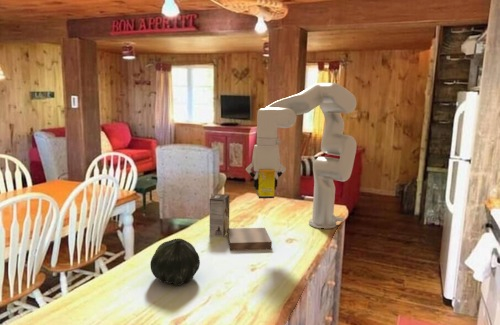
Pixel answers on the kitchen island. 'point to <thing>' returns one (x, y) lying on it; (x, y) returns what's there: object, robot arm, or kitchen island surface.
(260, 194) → the supplement box
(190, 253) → the squash
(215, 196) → the coffee box
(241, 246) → the base
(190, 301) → the kitchen island surface
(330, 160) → the robot arm
